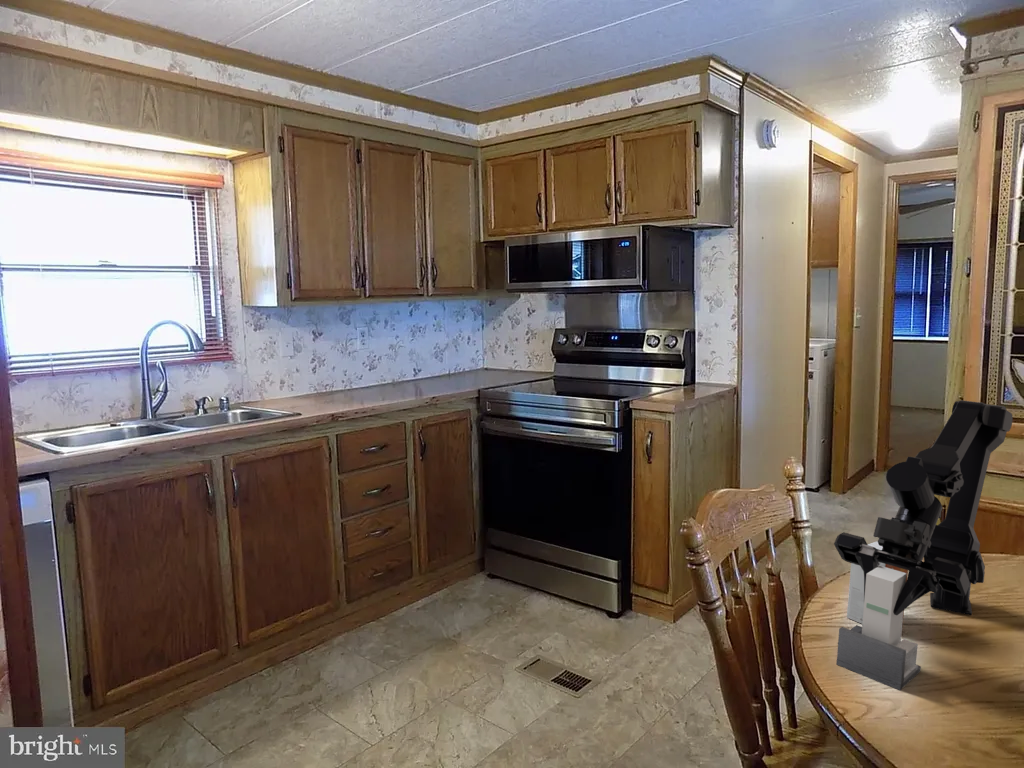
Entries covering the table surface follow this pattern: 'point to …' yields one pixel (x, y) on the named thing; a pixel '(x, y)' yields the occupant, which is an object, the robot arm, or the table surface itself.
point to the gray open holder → (877, 658)
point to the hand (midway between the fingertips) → (880, 608)
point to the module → (883, 605)
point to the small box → (861, 588)
